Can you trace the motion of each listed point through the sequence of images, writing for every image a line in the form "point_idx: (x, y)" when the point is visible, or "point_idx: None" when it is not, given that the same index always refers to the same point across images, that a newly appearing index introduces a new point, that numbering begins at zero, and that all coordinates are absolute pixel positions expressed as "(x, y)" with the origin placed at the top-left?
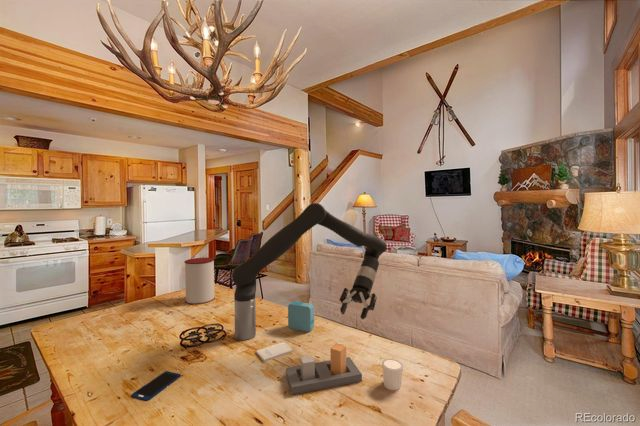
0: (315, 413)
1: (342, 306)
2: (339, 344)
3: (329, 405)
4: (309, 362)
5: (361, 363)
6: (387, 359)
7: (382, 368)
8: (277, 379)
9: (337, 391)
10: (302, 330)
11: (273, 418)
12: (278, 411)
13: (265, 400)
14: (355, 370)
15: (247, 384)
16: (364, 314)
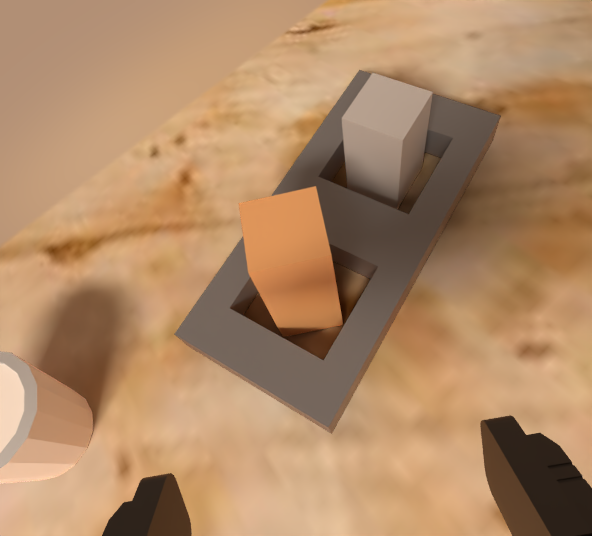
0: (230, 102)
1: (571, 493)
2: (302, 260)
3: (215, 151)
4: (356, 97)
5: (276, 491)
6: (13, 442)
7: (52, 389)
8: (487, 101)
9: (237, 219)
10: None
11: (317, 15)
12: (329, 34)
13: (405, 28)
14: (217, 335)
15: (537, 17)
16: (114, 529)
